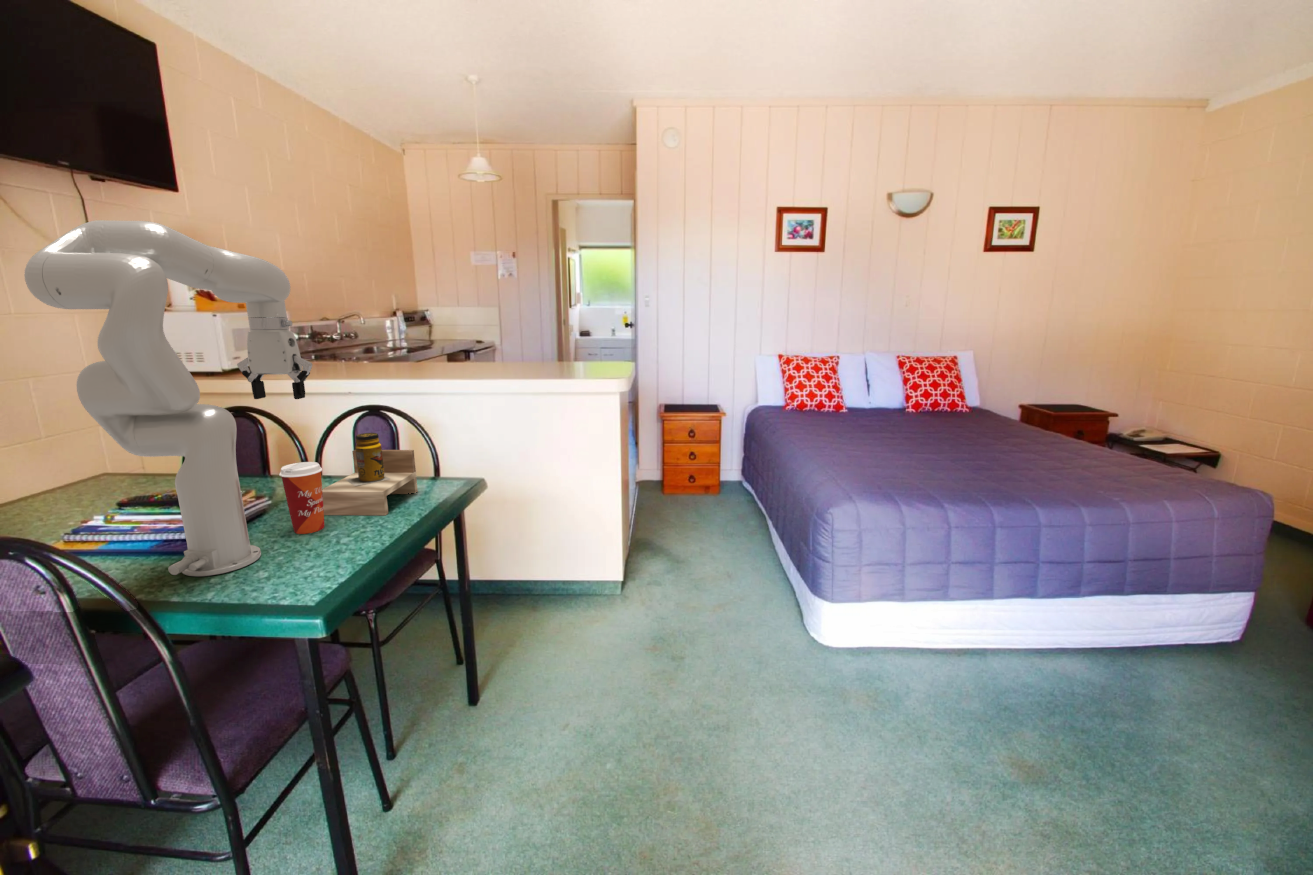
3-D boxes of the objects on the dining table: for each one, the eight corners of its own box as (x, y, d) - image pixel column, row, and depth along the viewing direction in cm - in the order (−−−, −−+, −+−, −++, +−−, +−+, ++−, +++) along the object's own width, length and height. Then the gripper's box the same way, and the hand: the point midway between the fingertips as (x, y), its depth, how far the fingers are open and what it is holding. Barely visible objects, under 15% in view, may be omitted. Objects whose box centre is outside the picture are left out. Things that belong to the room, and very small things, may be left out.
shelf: (385, 515, 137) (380, 468, 135) (320, 514, 138) (314, 467, 135) (417, 492, 155) (413, 449, 152) (360, 491, 155) (355, 449, 153)
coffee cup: (310, 537, 124) (301, 471, 121) (279, 534, 126) (268, 469, 122) (338, 523, 132) (330, 461, 129) (308, 521, 134) (299, 460, 130)
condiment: (390, 479, 146) (385, 434, 143) (355, 486, 140) (349, 439, 137) (380, 474, 151) (375, 430, 148) (345, 480, 145) (339, 435, 142)
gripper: (315, 325, 134) (324, 396, 138) (244, 325, 135) (255, 396, 138) (295, 325, 127) (305, 401, 131) (220, 326, 127) (232, 400, 131)
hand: (279, 398), depth 135 cm, fingers open, 9 cm apart
